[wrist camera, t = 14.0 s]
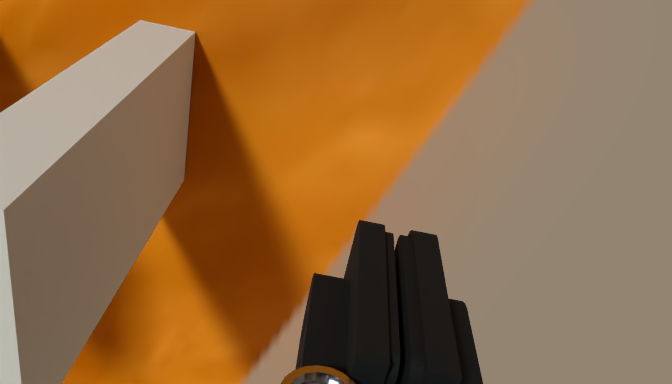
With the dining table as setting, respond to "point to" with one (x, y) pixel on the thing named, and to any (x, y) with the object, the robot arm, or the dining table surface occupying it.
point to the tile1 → (86, 191)
